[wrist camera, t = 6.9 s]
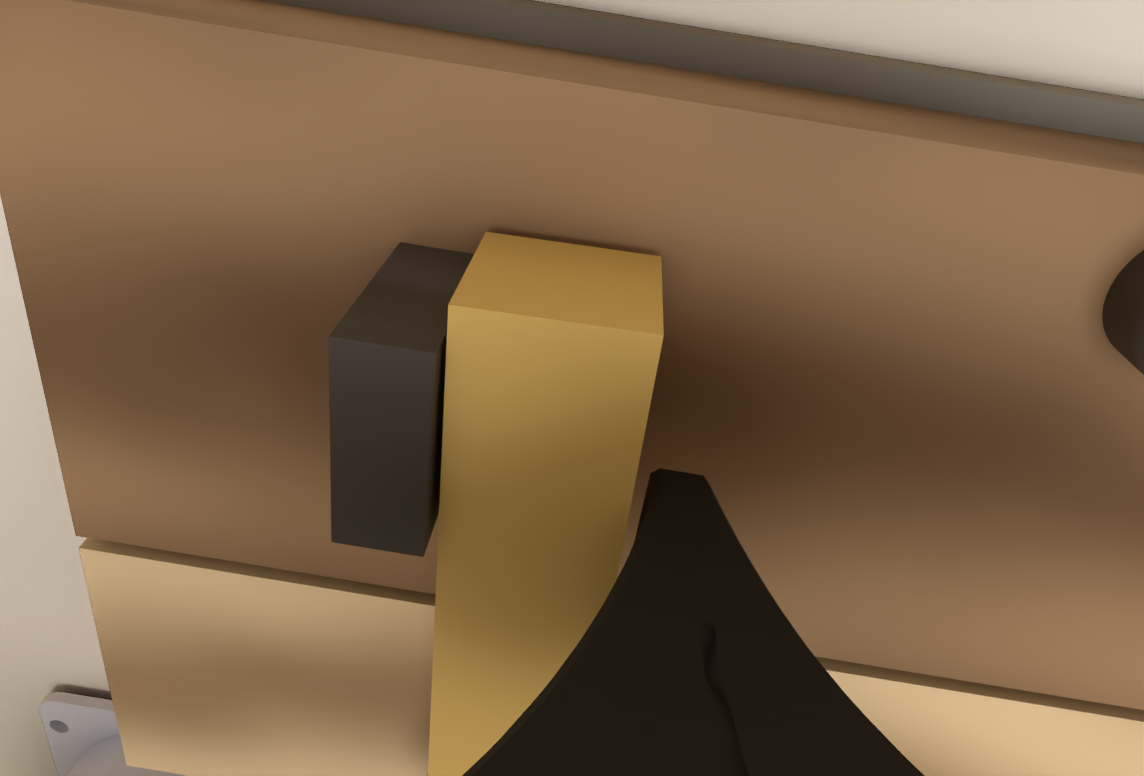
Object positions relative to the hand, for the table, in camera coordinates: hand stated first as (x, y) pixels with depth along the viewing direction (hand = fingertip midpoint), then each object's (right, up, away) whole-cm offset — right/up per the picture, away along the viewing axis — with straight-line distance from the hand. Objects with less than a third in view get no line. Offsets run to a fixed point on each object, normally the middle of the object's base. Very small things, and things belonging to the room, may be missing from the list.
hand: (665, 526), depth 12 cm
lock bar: (-2, -2, +3) cm, 4 cm away
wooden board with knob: (0, 0, +6) cm, 6 cm away
